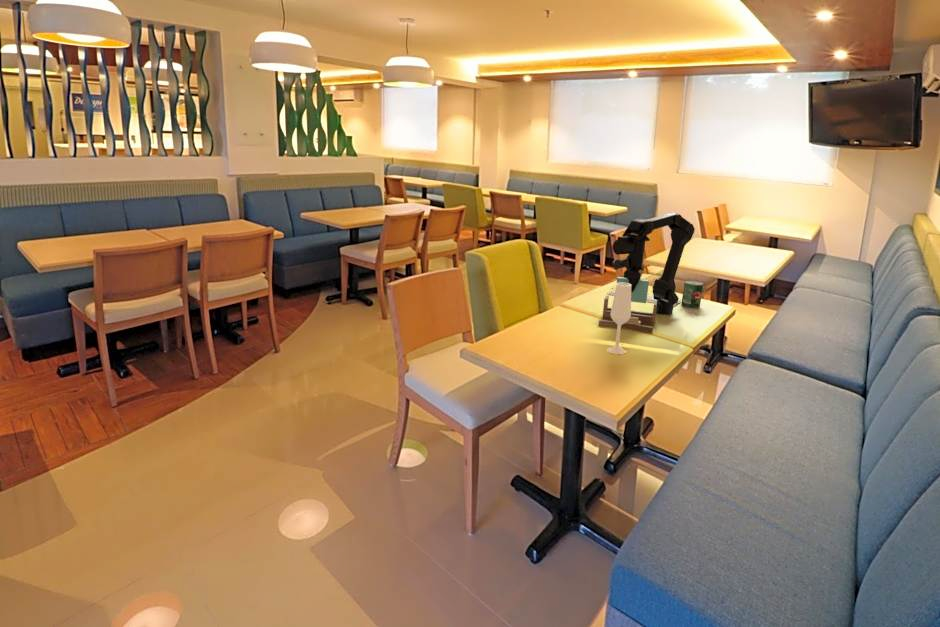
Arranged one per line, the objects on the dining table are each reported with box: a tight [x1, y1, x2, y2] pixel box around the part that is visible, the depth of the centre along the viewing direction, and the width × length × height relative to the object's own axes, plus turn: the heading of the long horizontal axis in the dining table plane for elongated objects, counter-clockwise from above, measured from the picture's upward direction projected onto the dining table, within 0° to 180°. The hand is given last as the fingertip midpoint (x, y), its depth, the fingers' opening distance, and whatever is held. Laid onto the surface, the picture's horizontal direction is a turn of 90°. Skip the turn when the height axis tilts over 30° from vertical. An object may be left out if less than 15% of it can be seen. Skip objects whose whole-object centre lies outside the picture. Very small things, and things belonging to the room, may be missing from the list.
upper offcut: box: [626, 317, 639, 325], centre depth 210 cm, size 5×8×1 cm, turn 76°
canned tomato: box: [680, 280, 704, 310], centre depth 240 cm, size 8×8×11 cm
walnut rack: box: [598, 295, 657, 334], centre depth 213 cm, size 18×20×9 cm
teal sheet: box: [616, 276, 650, 304], centre depth 214 cm, size 2×12×9 cm, turn 69°
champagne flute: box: [607, 282, 632, 355], centre depth 184 cm, size 7×7×24 cm
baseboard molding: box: [607, 287, 682, 308], centre depth 252 cm, size 31×3×12 cm
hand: (631, 291), depth 214 cm, fingers closed on teal sheet, 2 cm apart
